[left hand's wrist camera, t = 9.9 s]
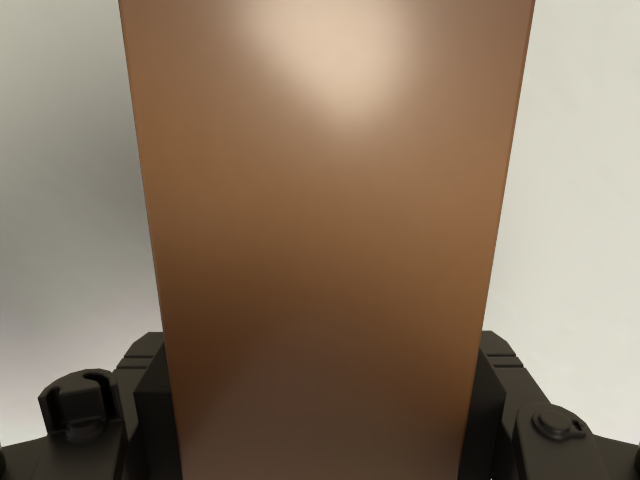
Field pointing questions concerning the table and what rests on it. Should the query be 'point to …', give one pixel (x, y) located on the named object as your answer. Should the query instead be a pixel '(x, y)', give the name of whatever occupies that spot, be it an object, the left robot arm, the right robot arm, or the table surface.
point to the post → (323, 223)
